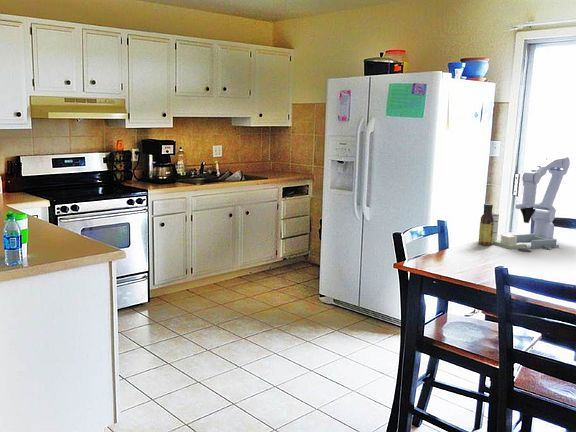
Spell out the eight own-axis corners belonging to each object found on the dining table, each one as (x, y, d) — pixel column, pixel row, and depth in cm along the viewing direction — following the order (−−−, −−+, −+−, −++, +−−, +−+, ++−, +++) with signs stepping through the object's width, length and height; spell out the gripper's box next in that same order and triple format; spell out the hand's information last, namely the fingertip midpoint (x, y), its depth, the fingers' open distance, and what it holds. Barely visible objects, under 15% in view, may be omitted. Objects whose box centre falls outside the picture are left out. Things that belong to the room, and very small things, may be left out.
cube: (508, 244, 268) (509, 234, 268) (516, 246, 264) (517, 236, 263) (500, 245, 266) (501, 235, 266) (508, 247, 262) (509, 237, 261)
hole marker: (524, 248, 260) (524, 248, 260) (534, 251, 254) (534, 251, 254) (514, 249, 258) (514, 249, 258) (524, 252, 252) (524, 251, 252)
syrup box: (497, 242, 272) (499, 213, 269) (485, 242, 272) (487, 213, 269) (493, 240, 277) (495, 212, 275) (481, 239, 277) (484, 211, 275)
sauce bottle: (492, 246, 262) (496, 205, 259) (479, 245, 263) (482, 204, 260) (490, 243, 269) (494, 203, 265) (477, 242, 270) (481, 203, 266)
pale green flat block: (509, 242, 272) (509, 239, 272) (526, 247, 262) (526, 244, 262) (492, 243, 269) (492, 240, 268) (509, 248, 258) (509, 245, 258)
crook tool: (557, 246, 266) (557, 244, 266) (564, 248, 263) (564, 246, 263) (541, 247, 263) (542, 245, 263) (548, 249, 259) (548, 247, 259)
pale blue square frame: (532, 240, 280) (533, 233, 280) (555, 246, 267) (556, 239, 267) (510, 241, 275) (510, 234, 274) (532, 248, 262) (533, 241, 261)
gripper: (524, 197, 265) (521, 224, 267) (546, 196, 270) (543, 223, 273) (513, 195, 271) (510, 222, 274) (535, 194, 277) (532, 220, 279)
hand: (526, 222), depth 274 cm, fingers closed
